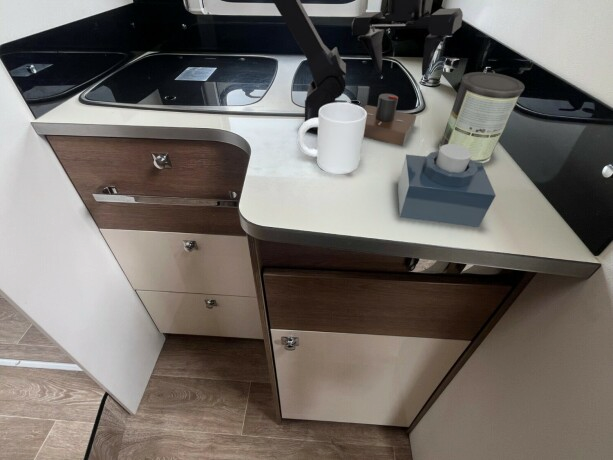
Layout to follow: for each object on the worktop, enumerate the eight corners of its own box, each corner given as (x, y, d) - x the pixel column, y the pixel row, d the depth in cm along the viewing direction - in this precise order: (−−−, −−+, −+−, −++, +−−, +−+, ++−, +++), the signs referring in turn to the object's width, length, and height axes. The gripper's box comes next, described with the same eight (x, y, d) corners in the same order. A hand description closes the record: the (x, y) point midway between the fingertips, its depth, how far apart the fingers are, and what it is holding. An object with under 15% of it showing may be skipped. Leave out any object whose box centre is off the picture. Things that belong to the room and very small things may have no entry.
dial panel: (349, 133, 71) (351, 119, 69) (364, 116, 77) (366, 104, 75) (402, 146, 67) (405, 132, 65) (413, 127, 73) (416, 114, 71)
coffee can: (428, 143, 68) (450, 73, 58) (468, 137, 70) (495, 69, 61) (459, 168, 61) (489, 94, 51) (502, 161, 63) (539, 88, 54)
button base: (399, 217, 50) (412, 174, 45) (397, 185, 57) (408, 144, 51) (478, 227, 49) (501, 184, 43) (467, 193, 55) (486, 152, 50)
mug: (296, 174, 58) (295, 120, 51) (297, 151, 64) (298, 101, 57) (361, 176, 58) (369, 123, 51) (356, 153, 64) (364, 102, 57)
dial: (373, 119, 69) (376, 96, 66) (378, 112, 72) (382, 90, 69) (390, 123, 68) (395, 100, 65) (395, 116, 71) (400, 94, 67)
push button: (437, 171, 46) (442, 157, 44) (433, 156, 49) (438, 142, 48) (468, 174, 46) (474, 160, 44) (463, 159, 49) (468, 145, 47)
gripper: (480, -41, 52) (462, 62, 63) (376, -29, 62) (375, 59, 72) (460, -30, 46) (443, 82, 57) (348, -18, 55) (352, 75, 66)
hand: (400, 73), depth 63 cm, fingers open, 9 cm apart
